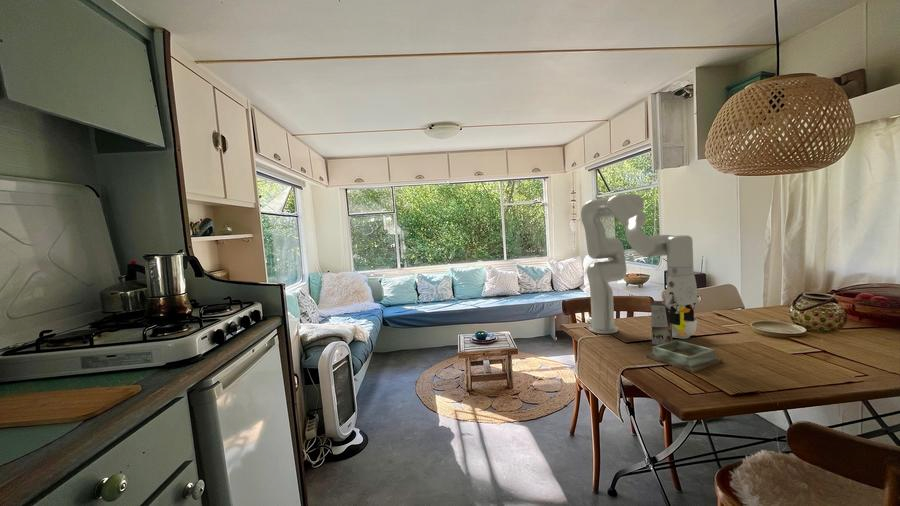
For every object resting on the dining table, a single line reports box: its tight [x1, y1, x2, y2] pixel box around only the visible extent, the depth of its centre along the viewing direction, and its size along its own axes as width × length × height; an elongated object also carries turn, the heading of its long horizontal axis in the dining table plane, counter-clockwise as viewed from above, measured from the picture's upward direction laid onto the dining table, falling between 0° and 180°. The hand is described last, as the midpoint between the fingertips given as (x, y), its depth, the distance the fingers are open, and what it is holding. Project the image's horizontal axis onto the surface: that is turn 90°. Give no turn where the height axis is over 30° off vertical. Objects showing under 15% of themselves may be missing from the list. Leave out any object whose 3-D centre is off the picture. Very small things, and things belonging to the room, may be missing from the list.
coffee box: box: [650, 300, 673, 346], centre depth 139 cm, size 9×6×16 cm
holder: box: [645, 339, 723, 374], centre depth 121 cm, size 16×16×4 cm
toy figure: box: [675, 306, 690, 335], centre depth 121 cm, size 7×4×12 cm, turn 102°
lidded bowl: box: [672, 313, 698, 340], centre depth 145 cm, size 13×13×11 cm
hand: (682, 322), depth 121 cm, fingers closed on toy figure, 6 cm apart
